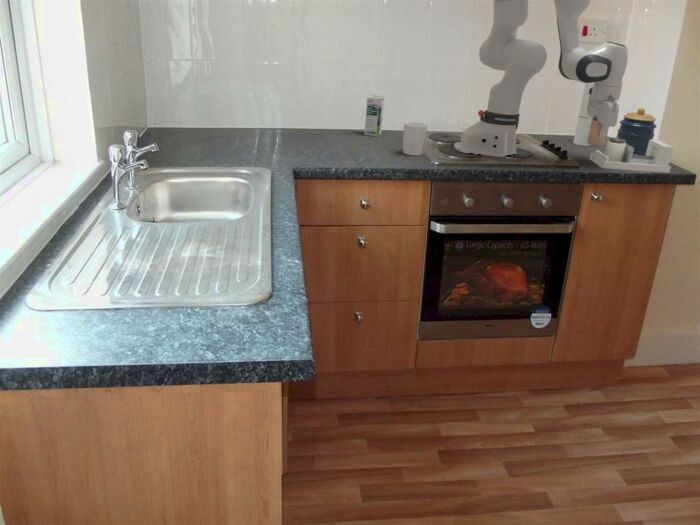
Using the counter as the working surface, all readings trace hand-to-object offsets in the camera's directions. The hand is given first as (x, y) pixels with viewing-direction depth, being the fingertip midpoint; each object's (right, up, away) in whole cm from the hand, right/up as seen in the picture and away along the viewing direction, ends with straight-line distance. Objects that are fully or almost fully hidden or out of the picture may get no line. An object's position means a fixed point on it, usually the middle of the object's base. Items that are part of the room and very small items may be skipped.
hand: (597, 134), depth 219 cm
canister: (+22, -3, +25) cm, 34 cm away
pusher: (+15, -10, +4) cm, 18 cm away
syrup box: (-76, +5, +26) cm, 81 cm away
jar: (0, -3, +1) cm, 3 cm away
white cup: (-64, -6, +1) cm, 64 cm away
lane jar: (+6, -10, +4) cm, 12 cm away
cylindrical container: (+8, +4, +38) cm, 39 cm away
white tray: (+13, -11, +4) cm, 17 cm away
